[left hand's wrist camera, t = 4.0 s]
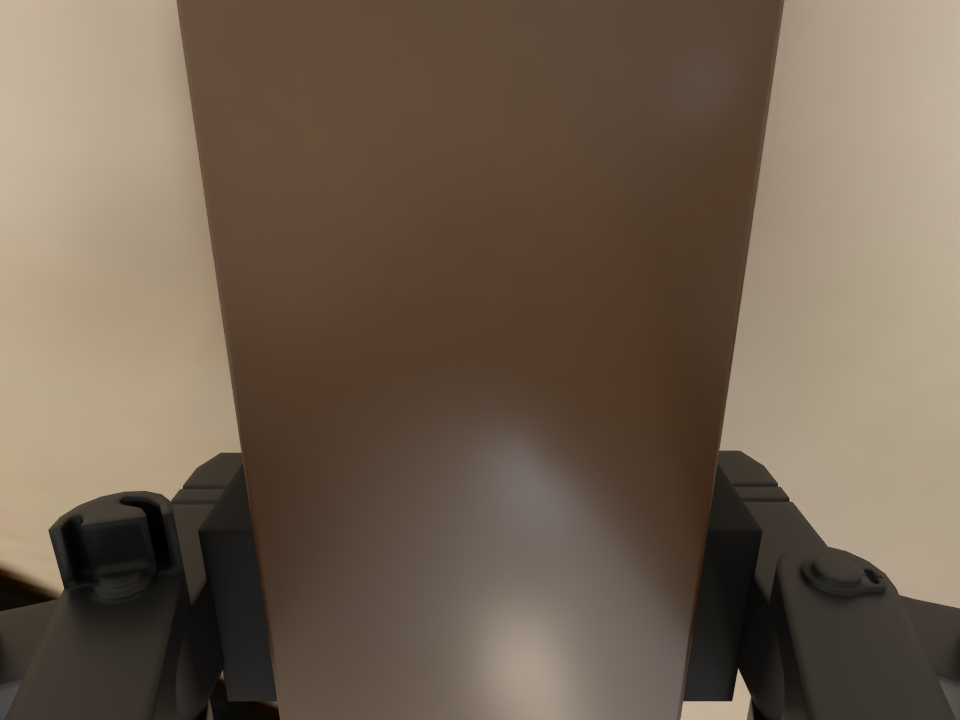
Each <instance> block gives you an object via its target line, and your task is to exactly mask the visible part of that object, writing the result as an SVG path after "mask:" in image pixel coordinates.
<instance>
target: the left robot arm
mask: <svg viewBox="0 0 960 720" xmlns="http://www.w3.org/2000/svg"><path fill="white" fill-rule="evenodd" d="M49 534H50V538H51V541H52V545H53V549H54V552H55V556H56V560H57V563H58V567H59V571H60V574H61V578H62V582H63V585H64V591H63V593H62V595H61V597H60V599H56V600H52V601H48V602H44V603H39V604H35V605H30V606H25V607H20V608H15V609H10V610H6V611H1V612H0V720H213V717H212V710H211V705H210V700H209V699H210V697H211V695H212V692H213V690H214V688H215V686H216V684H217V681H218V679H219V677H220V675H221V673H222V670H223V674H224V680H225V685H226V691H227V697H228V701H277V694H276V687H275V680H274V673H273V666H272V659H271V652H270V645H269V638H268V632H267V625H266V618H265V611H264V604H263V597H262V590H261V583H260V576H259V569H258V562H257V555H256V548H255V541H254V534H253V527H252V520H251V514H250V507H249V500H248V493H247V486H246V479H245V472H244V465H243V458H242V453H220V454H218V455H217V456H215V457H214V458H212V459H210V460H209V461H207V462H206V463H204V464H203V465H201V466H199V467H198V468H197V469H196V470H195V471H194V473H193V474H192V475H191V476H190V478H189V479H188V480H187V481H186V483H185V484H184V485H183V489H180V490H179V492H178V493H177V494H176V495H175V497H174V498H173V499H172V501H169V500H168V499H167V498H166V497H164V496H163V495H161V494H157V493H152V492H147V491H133V492H121V493H116V494H112V495H107V496H103V497H99V498H97V499H94V500H92V501H89V502H87V503H84V504H81V505H79V506H77V507H76V508H74V509H72V510H71V511H69V512H68V513H66V514H64V515H63V516H61V517H60V518H59V519H58V520H57V521H56V522H55V523H54V524H53V526H52V527H51V528H50V529H49ZM738 668H739V671H740V673H741V675H742V677H743V679H744V681H745V684H746V686H747V688H748V690H749V692H750V694H751V700H750V705H749V710H748V716H747V720H960V609H959V608H954V607H950V606H945V605H940V604H935V603H930V602H925V601H921V600H916V599H912V598H908V597H904V596H901V595H899V594H898V592H897V589H896V588H895V586H894V585H893V584H892V582H891V581H890V580H889V578H888V577H887V576H886V574H885V573H883V572H882V571H881V570H879V569H878V568H876V567H875V566H874V565H872V564H871V563H870V562H868V561H866V560H864V559H862V558H860V557H858V556H855V555H853V554H851V553H849V552H847V551H843V550H839V549H835V548H831V547H828V546H827V545H826V544H825V543H824V541H823V540H822V539H821V538H820V536H819V535H818V534H817V532H816V531H815V530H814V529H813V527H812V526H811V525H810V524H809V522H808V521H807V520H806V519H805V517H804V516H803V515H802V514H801V512H800V511H799V510H798V508H797V507H796V506H795V505H794V503H793V502H790V501H789V497H788V496H787V495H786V493H785V492H784V491H783V489H782V488H781V487H778V483H777V482H776V481H775V479H774V478H773V477H772V476H771V474H770V473H769V472H768V471H767V469H766V468H765V467H764V466H763V465H762V464H760V463H758V462H757V461H755V460H754V459H752V458H751V457H749V456H747V455H746V454H744V453H743V452H741V451H719V455H718V462H717V469H716V476H715V483H714V490H713V497H712V504H711V511H710V518H709V524H708V531H707V538H706V545H705V552H704V559H703V566H702V573H701V580H700V587H699V594H698V601H697V608H696V614H695V621H694V628H693V635H692V642H691V649H690V656H689V663H688V670H687V677H686V684H685V691H684V698H683V701H732V699H733V693H734V688H735V682H736V677H737V671H738Z"/></svg>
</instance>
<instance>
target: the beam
mask: <svg viewBox="0 0 960 720" xmlns="http://www.w3.org/2000/svg"><path fill="white" fill-rule="evenodd" d="M783 5H784V0H177V7H178V14H179V21H180V28H181V35H182V41H183V48H184V55H185V62H186V69H187V76H188V83H189V90H190V97H191V104H192V111H193V118H194V125H195V132H196V139H197V146H198V153H199V159H200V166H201V173H202V180H203V187H204V194H205V201H206V208H207V215H208V222H209V229H210V236H211V243H212V250H213V257H214V264H215V271H216V278H217V284H218V291H219V298H220V305H221V312H222V319H223V326H224V333H225V340H226V347H227V354H228V361H229V368H230V375H231V382H232V389H233V396H234V402H235V409H236V416H237V423H238V430H239V437H240V444H241V451H242V458H243V465H244V472H245V479H246V486H247V493H248V500H249V507H250V514H251V520H252V527H253V534H254V541H255V548H256V555H257V562H258V569H259V576H260V583H261V590H262V597H263V604H264V611H265V618H266V625H267V632H268V638H269V645H270V652H271V659H272V666H273V673H274V680H275V687H276V694H277V701H278V708H279V715H280V720H680V718H681V711H682V705H683V698H684V691H685V684H686V677H687V670H688V663H689V656H690V649H691V642H692V635H693V628H694V621H695V614H696V608H697V601H698V594H699V587H700V580H701V573H702V566H703V559H704V552H705V545H706V538H707V531H708V524H709V518H710V511H711V504H712V497H713V490H714V483H715V476H716V469H717V462H718V455H719V448H720V441H721V434H722V428H723V421H724V414H725V407H726V400H727V393H728V386H729V379H730V372H731V365H732V358H733V351H734V344H735V337H736V331H737V324H738V317H739V310H740V303H741V296H742V289H743V282H744V275H745V268H746V261H747V254H748V247H749V241H750V234H751V227H752V220H753V213H754V206H755V199H756V192H757V185H758V178H759V171H760V164H761V157H762V150H763V144H764V137H765V130H766V123H767V116H768V109H769V102H770V95H771V88H772V81H773V74H774V67H775V60H776V54H777V47H778V40H779V33H780V26H781V19H782V12H783Z"/></svg>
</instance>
